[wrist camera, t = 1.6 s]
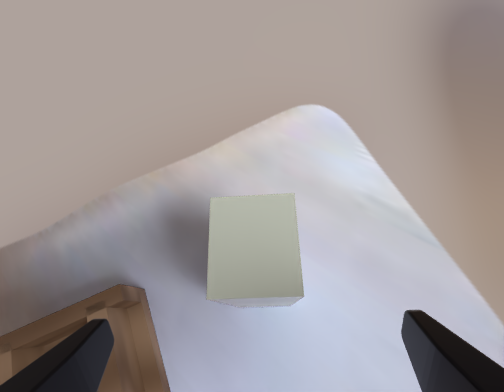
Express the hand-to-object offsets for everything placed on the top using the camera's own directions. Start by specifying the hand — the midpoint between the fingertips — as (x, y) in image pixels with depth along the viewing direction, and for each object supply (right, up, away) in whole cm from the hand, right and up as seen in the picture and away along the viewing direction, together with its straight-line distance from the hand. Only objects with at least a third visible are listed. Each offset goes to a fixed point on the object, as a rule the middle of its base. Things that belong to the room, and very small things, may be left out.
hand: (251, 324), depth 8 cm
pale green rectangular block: (+1, -2, +11) cm, 12 cm away
